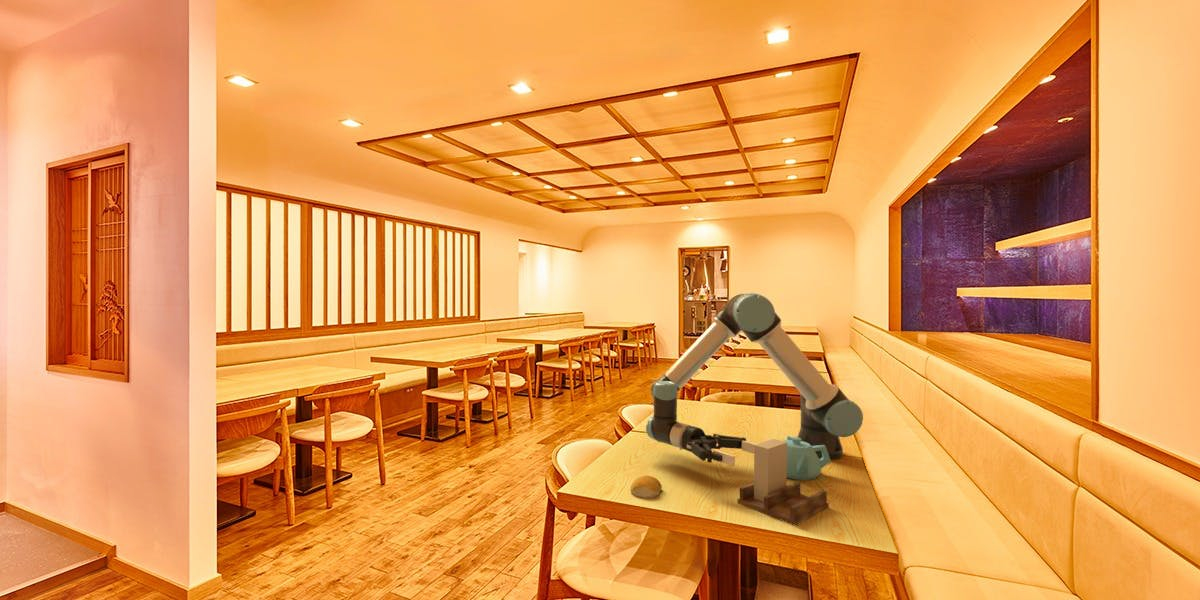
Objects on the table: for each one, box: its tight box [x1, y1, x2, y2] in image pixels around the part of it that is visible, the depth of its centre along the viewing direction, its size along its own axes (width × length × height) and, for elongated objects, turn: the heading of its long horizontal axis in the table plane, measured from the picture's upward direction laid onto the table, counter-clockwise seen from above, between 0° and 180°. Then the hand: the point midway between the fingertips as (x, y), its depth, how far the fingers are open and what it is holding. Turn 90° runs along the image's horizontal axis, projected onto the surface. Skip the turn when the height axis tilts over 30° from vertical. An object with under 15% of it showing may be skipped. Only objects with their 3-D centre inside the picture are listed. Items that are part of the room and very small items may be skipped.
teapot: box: [783, 435, 832, 481], centre depth 146 cm, size 15×15×11 cm
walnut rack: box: [737, 481, 829, 526], centre depth 124 cm, size 16×16×4 cm
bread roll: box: [630, 475, 663, 499], centre depth 132 cm, size 8×9×4 cm
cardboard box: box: [753, 438, 787, 502], centre depth 126 cm, size 9×4×14 cm, turn 129°
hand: (748, 456), depth 131 cm, fingers open, 13 cm apart
